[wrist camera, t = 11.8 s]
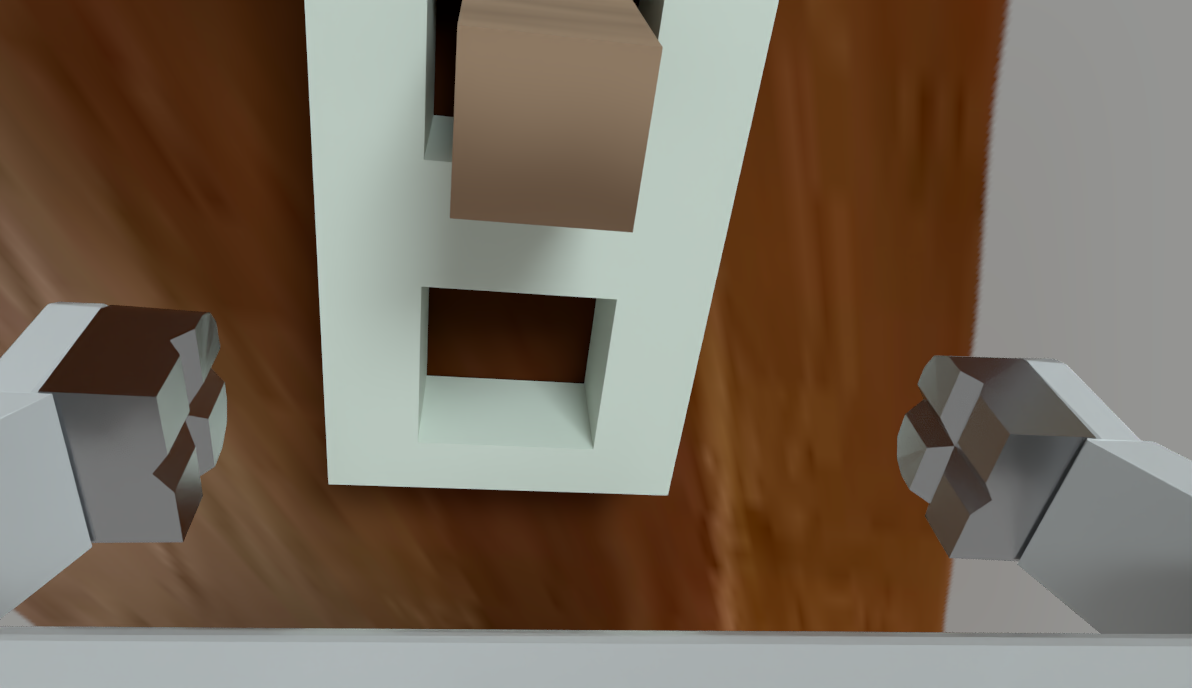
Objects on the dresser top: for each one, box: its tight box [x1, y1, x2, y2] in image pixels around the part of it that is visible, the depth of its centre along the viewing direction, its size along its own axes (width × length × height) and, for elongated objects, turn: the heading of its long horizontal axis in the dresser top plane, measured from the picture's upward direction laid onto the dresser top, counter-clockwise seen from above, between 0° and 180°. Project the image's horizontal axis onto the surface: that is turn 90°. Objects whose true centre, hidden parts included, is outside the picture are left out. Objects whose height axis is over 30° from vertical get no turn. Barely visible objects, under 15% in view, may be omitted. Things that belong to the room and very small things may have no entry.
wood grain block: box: [450, 0, 663, 233], centre depth 22 cm, size 4×4×10 cm
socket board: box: [304, 0, 779, 495], centre depth 27 cm, size 20×12×4 cm, turn 173°
